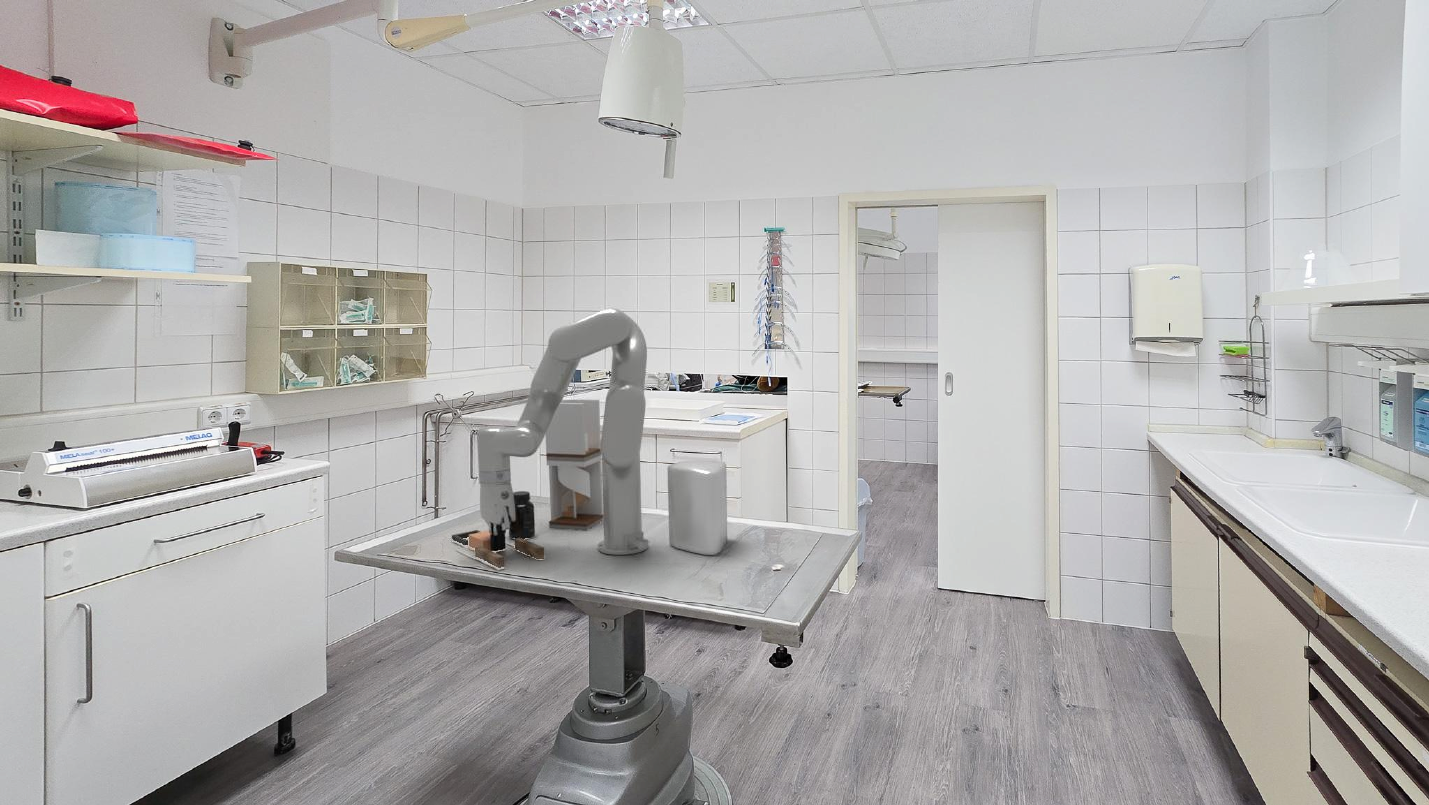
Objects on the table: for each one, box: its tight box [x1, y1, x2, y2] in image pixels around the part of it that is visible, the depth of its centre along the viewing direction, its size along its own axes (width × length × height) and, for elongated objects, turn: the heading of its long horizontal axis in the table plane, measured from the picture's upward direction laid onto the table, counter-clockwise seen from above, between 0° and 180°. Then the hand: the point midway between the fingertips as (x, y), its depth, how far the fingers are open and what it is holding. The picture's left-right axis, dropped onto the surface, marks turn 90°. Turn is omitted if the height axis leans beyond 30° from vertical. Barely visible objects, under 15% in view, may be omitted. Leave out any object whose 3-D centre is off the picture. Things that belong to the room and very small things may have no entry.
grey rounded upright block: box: [667, 459, 728, 556], centre depth 198 cm, size 15×14×22 cm
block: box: [469, 530, 506, 551], centre depth 200 cm, size 8×6×4 cm
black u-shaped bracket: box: [451, 529, 481, 545], centre depth 207 cm, size 8×7×2 cm
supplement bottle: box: [508, 490, 536, 539], centre depth 210 cm, size 7×7×12 cm
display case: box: [545, 398, 604, 532], centre depth 220 cm, size 11×11×35 cm
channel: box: [474, 538, 546, 568], centre depth 191 cm, size 12×12×3 cm
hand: (498, 549), depth 195 cm, fingers closed
